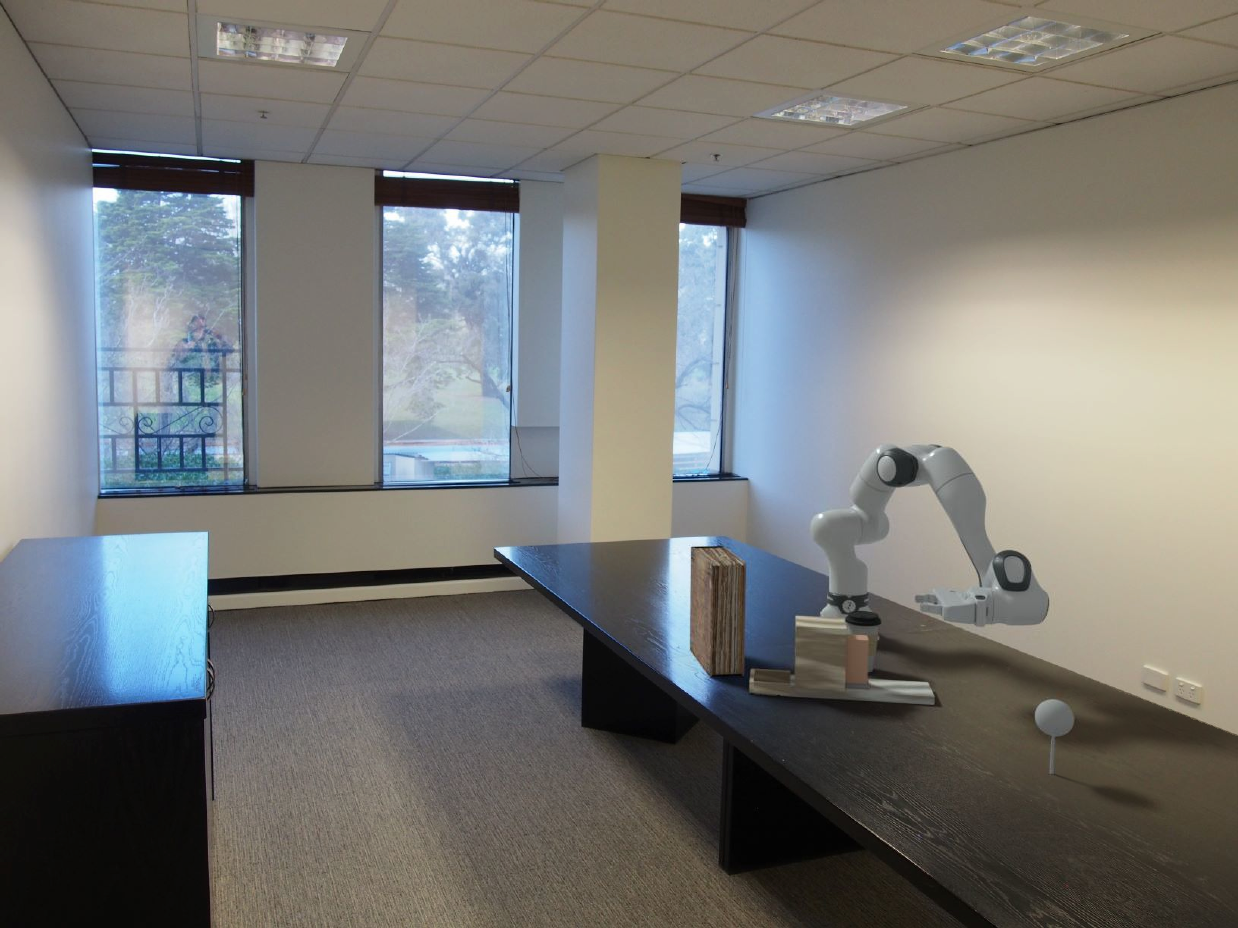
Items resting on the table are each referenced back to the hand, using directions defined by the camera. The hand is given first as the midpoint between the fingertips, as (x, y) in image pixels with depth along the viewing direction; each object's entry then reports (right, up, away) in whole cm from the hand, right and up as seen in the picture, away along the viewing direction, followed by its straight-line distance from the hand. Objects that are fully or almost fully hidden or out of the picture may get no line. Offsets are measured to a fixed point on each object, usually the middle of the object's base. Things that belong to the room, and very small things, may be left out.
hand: (917, 602), depth 240 cm
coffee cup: (-8, -21, +24) cm, 33 cm away
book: (-46, -21, +29) cm, 58 cm away
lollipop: (+14, -28, -43) cm, 53 cm away
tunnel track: (-18, -23, +5) cm, 30 cm away
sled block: (-17, -21, +5) cm, 27 cm away
